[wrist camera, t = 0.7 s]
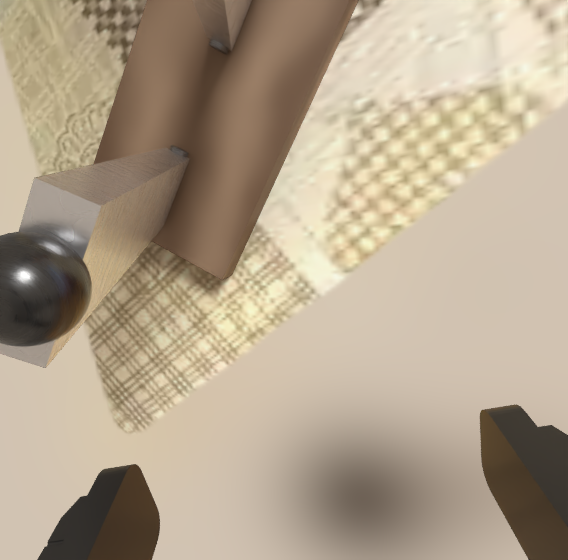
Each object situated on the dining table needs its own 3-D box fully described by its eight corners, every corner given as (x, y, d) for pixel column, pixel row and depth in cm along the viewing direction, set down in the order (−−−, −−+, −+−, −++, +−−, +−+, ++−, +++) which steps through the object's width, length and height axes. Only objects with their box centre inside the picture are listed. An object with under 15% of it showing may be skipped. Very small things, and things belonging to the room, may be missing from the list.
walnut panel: (470, -242, 22) (481, -294, 20) (231, 274, 31) (220, 281, 28) (274, -314, 23) (263, -371, 21) (98, 201, 32) (77, 202, 30)
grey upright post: (201, 157, 28) (103, 221, 8) (171, 232, 29) (30, 431, 10) (160, 138, 27) (-45, 160, 8) (132, 215, 28) (-100, 394, 9)
